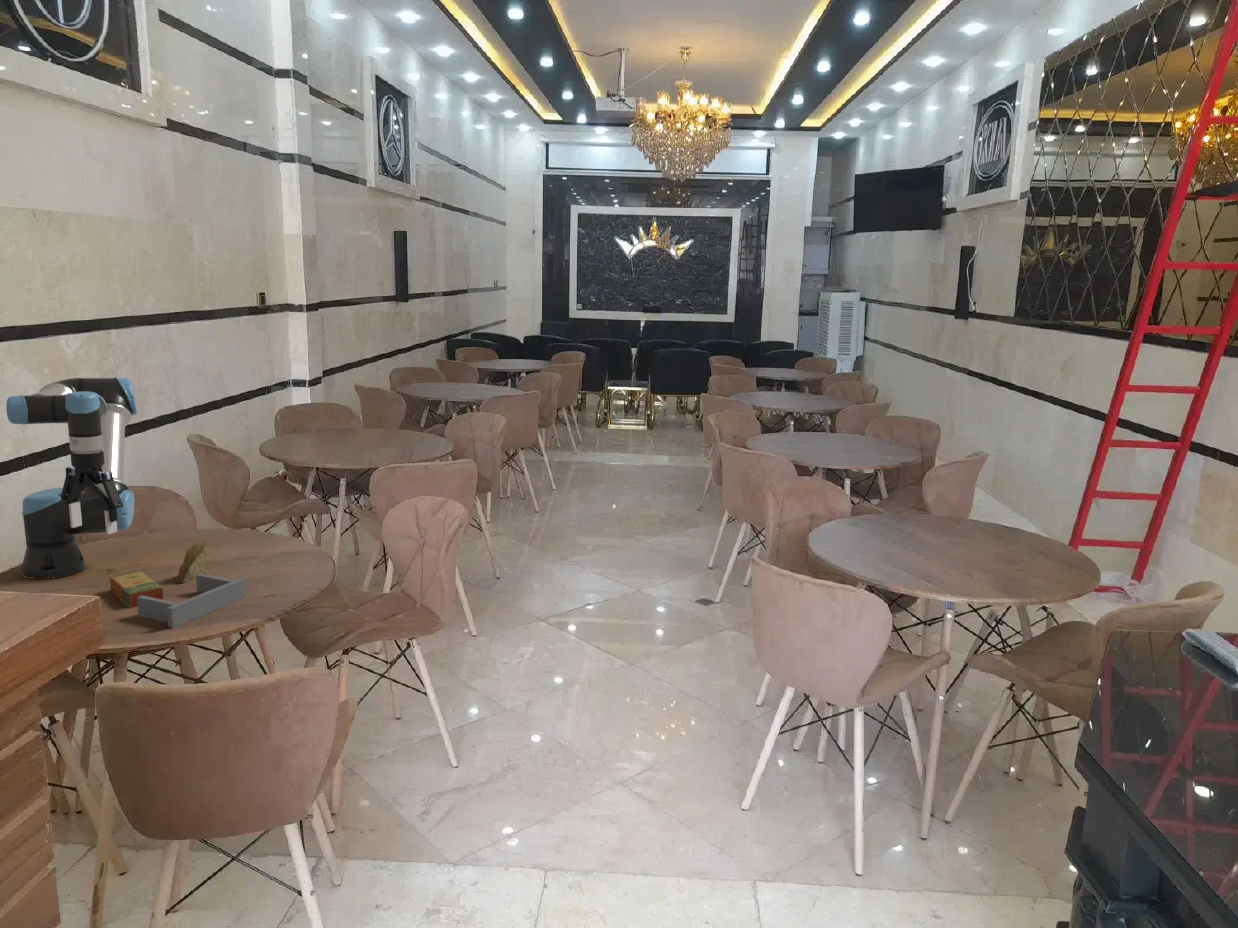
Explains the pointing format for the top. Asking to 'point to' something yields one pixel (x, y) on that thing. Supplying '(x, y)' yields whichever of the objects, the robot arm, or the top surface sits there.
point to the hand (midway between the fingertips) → (94, 529)
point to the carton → (135, 588)
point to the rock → (193, 563)
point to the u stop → (193, 600)
